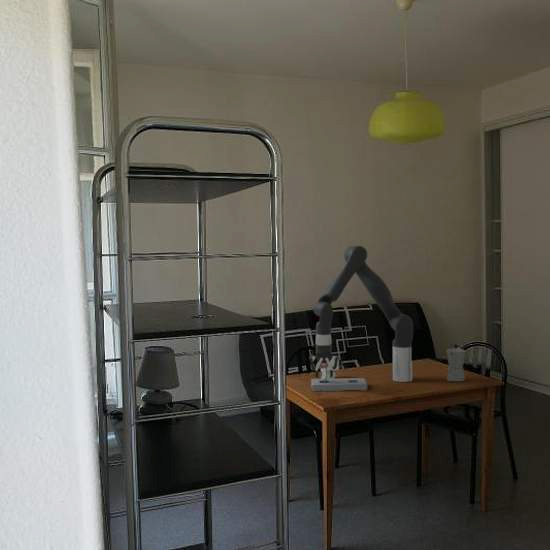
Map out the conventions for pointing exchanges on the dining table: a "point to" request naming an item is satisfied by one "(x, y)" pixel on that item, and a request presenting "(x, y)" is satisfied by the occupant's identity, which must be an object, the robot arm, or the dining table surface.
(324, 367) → the lock pin
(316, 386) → the mount board
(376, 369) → the dining table surface
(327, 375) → the pneumatic valve
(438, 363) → the dining table surface
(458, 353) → the coffeepot
